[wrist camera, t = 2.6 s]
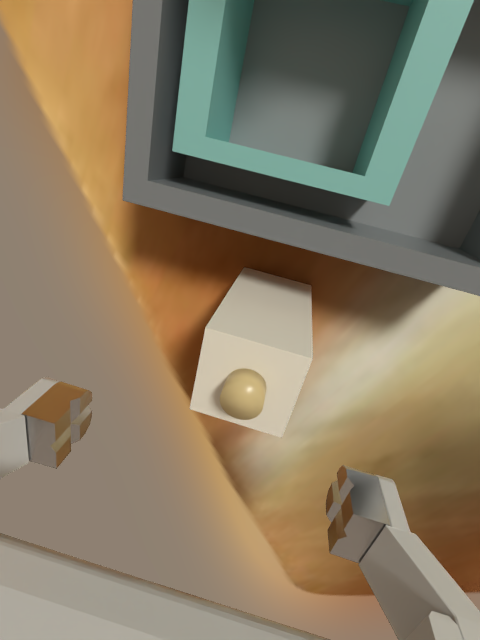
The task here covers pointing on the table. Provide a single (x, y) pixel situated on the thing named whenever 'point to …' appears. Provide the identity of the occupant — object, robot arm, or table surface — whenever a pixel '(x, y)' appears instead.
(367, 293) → the table surface
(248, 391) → the plug
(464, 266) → the organiser box
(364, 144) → the inlet socket
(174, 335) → the table surface
